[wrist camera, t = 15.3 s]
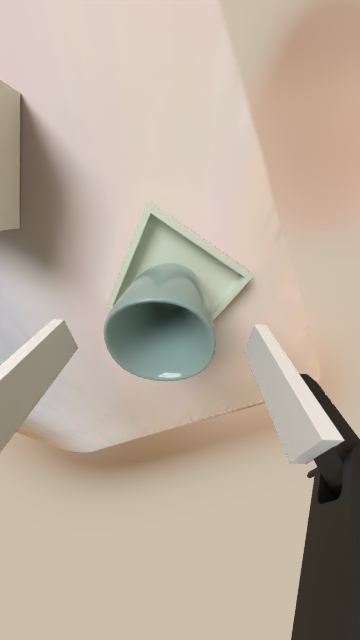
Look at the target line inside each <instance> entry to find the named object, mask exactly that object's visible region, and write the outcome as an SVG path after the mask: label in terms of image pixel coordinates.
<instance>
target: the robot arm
mask: <svg viewBox="0 0 360 640" xmlns="http://www.w3.org/2000/svg"><path fill="white" fill-rule="evenodd" d="M77 349H78V347H77V345H76V343H75V341H74V339H73V337H72V335H71V333H70V331H69V329H68V327H67V325H66V323H65V321H64V320H56V319H53V320H52V321H51V322H50V323H48V324H47V325H46V326H45V327H44V328H43V329H41V330H40V331H39V332H38V333H37V334H36V335H35V336H33V337H32V338H31V339H30V340H29V341H28V342H27V343H25V344H24V345H23V346H22V347H21V348H20V349H18V350H17V351H16V352H15V353H14V354H13V355H12V356H10V357H9V358H8V359H7V360H6V361H5V362H4V363H2V364H1V365H0V452H1V451H2V450H3V448H4V447H5V445H6V444H7V443H8V441H9V440H10V439H11V437H12V436H13V435H14V434H15V432H16V431H17V430H18V428H19V427H20V426H21V424H22V423H23V422H24V420H25V419H26V417H27V416H28V415H29V413H30V412H31V411H32V409H33V408H34V407H35V405H36V404H37V403H38V401H39V400H40V399H41V397H42V396H43V395H44V393H45V392H46V391H47V389H48V388H49V387H50V385H51V384H52V383H53V381H54V380H55V379H56V377H57V376H58V374H59V373H60V372H61V370H62V369H63V368H64V366H65V365H66V364H67V362H68V361H69V360H70V358H71V357H72V356H73V354H74V353H75V352H76V350H77ZM245 355H246V357H247V360H248V362H249V365H250V367H251V370H252V372H253V375H254V377H255V379H256V382H257V384H258V387H259V389H260V392H261V394H262V397H263V399H264V402H265V404H266V406H267V409H268V411H269V414H270V416H271V419H272V421H273V423H274V426H275V428H276V431H277V433H278V436H279V438H280V440H281V443H282V445H283V448H284V450H285V453H286V455H287V458H288V460H289V463H299V464H307V463H309V462H311V461H312V460H314V461H315V463H316V465H317V468H315V469H313V470H311V471H310V472H309V473H308V475H307V477H308V478H311V477H314V476H315V477H314V485H313V491H312V498H311V505H310V513H309V519H308V526H307V533H306V540H305V547H304V554H303V561H302V568H301V575H300V582H299V589H298V596H297V603H296V609H295V617H294V623H293V631H292V637H291V640H360V439H359V438H358V437H357V435H356V434H355V433H354V431H353V430H352V429H351V427H350V426H349V425H348V423H347V422H346V421H345V419H344V418H343V417H342V415H341V414H340V413H339V411H338V410H337V409H336V407H335V406H334V405H333V404H332V403H331V401H330V399H329V398H328V397H327V395H325V393H324V391H323V390H322V389H321V387H320V386H319V384H318V383H317V382H316V381H314V380H313V379H312V378H311V377H310V376H309V375H307V374H299V373H298V371H297V370H296V368H295V367H294V366H293V364H292V363H291V361H290V360H289V358H288V357H287V355H286V354H285V352H284V351H283V349H282V348H281V346H280V345H279V344H278V342H277V341H276V339H275V338H274V336H273V335H272V333H271V332H270V330H269V329H268V327H267V326H266V325H254V328H253V330H252V333H251V336H250V339H249V342H248V344H247V347H246V350H245Z"/></svg>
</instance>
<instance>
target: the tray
mask: <svg viewBox="0 0 360 640" xmlns="http://www.w3.org/2000/svg"><path fill="white" fill-rule="evenodd" d="M164 263H175V264H180V265H183V266H186V267H188V268H189V269H191V270H192V271H193V272H194V273H195V274H196V275H197V276H198V277H199V279H200V280H201V282H202V284H203V286H204V288H205V291H206V294H207V297H208V301H209V305H210V309H211V313H212V317H213V321H214V320H215V318H216V317H217V316H218V315H219V314H220V313H221V312H222V311H223V309H224V308H225V307H226V306H227V305H228V304H229V303H230V302H231V301H232V299H233V298H234V297H235V296H236V295H237V294H238V293H239V292H240V291H241V289H242V288H243V287H244V286H245V285H246V284H247V283H248V282H249V281H250V279H251V278H252V277H253V275H252V274H251V273H250V271H249V270H247V269H246V268H244V267H243V266H242V265H240V264H239V263H237V262H236V261H234V260H233V259H232V258H230V257H229V256H227V255H226V254H224V253H223V252H222V251H220V250H219V249H217V248H216V247H214V246H213V245H212V244H210V243H209V242H207V241H206V240H205V239H203V238H202V237H200V236H199V235H197V234H196V233H195V232H193V231H192V230H190V229H189V228H187V227H186V226H185V225H183V224H182V223H180V222H179V221H178V220H176V219H175V218H173V217H172V216H170V215H169V214H168V213H166V212H165V211H163V210H162V209H160V208H159V207H158V206H156V205H155V204H153V203H152V202H149V201H147V202H146V205H145V208H144V210H143V213H142V215H141V218H140V221H139V223H138V226H137V228H136V231H135V234H134V236H133V239H132V241H131V244H130V247H129V249H128V252H127V255H126V257H125V260H124V262H123V265H122V268H121V270H120V273H119V275H118V278H117V281H116V283H115V286H114V288H113V291H112V294H111V296H110V299H109V302H108V304H107V308H109V309H112V308H113V306H114V305H115V303H116V302H117V301H118V299H119V298H120V297H121V295H122V294H123V293H124V292H125V290H126V289H127V288H128V287H129V285H130V284H131V283H132V282H133V281H134V280H135V279H136V278H137V277H138V276H139V275H140V274H141V273H142V272H144V271H145V270H147V269H149V268H150V267H153V266H156V265H159V264H164Z"/></svg>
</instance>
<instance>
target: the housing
mask: <svg viewBox="0 0 360 640" xmlns="http://www.w3.org/2000/svg"><path fill="white" fill-rule="evenodd" d="M18 228H20V92H18V91H17V90H15V89H14V88H13V87H11V86H10V85H9V84H7V83H6V82H4V81H3V80H2V79H0V231H1V230H10V229H18Z"/></svg>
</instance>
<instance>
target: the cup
mask: <svg viewBox="0 0 360 640" xmlns="http://www.w3.org/2000/svg"><path fill="white" fill-rule="evenodd" d="M104 339H105V343H106V346H107V349H108V351H109V352H110V354H111V356H112V357H113V359H114V360H115V361H116V362H117V363H118V364H119V365H120V366H121V367H122V368H123V369H125V370H126V371H128V372H130V373H131V374H134V375H136V376H138V377H142V378H145V379H150V380H157V381H174V380H181V379H186V378H189V377H192V376H194V375H196V374H198V373H200V372H201V371H202V370H204V369H205V368H206V367H207V365H208V364H209V363H210V361H211V359H212V357H213V355H214V351H215V346H216V337H215V327H214V322H213V317H212V313H211V309H210V305H209V301H208V297H207V294H206V291H205V288H204V286H203V284H202V282H201V280H200V279H199V277H198V276H197V275H196V274H195V273H194V272H193V271H192V270H191V269H189V268H188V267H186V266H183V265H180V264H175V263H164V264H159V265H156V266H153V267H150V268H149V269H147V270H145V271H144V272H142V273H141V274H140V275H139V276H138V277H137V278H136V279H135V280H134V281H133V282H132V283H131V284H130V285H129V287H128V288H127V289H126V290H125V292H124V293H123V294H122V295H121V297H120V298H119V299H118V301H117V302H116V303H115V305H114V306H113V308H112V309H111V311H110V313H109V315H108V317H107V319H106V321H105V325H104Z"/></svg>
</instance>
